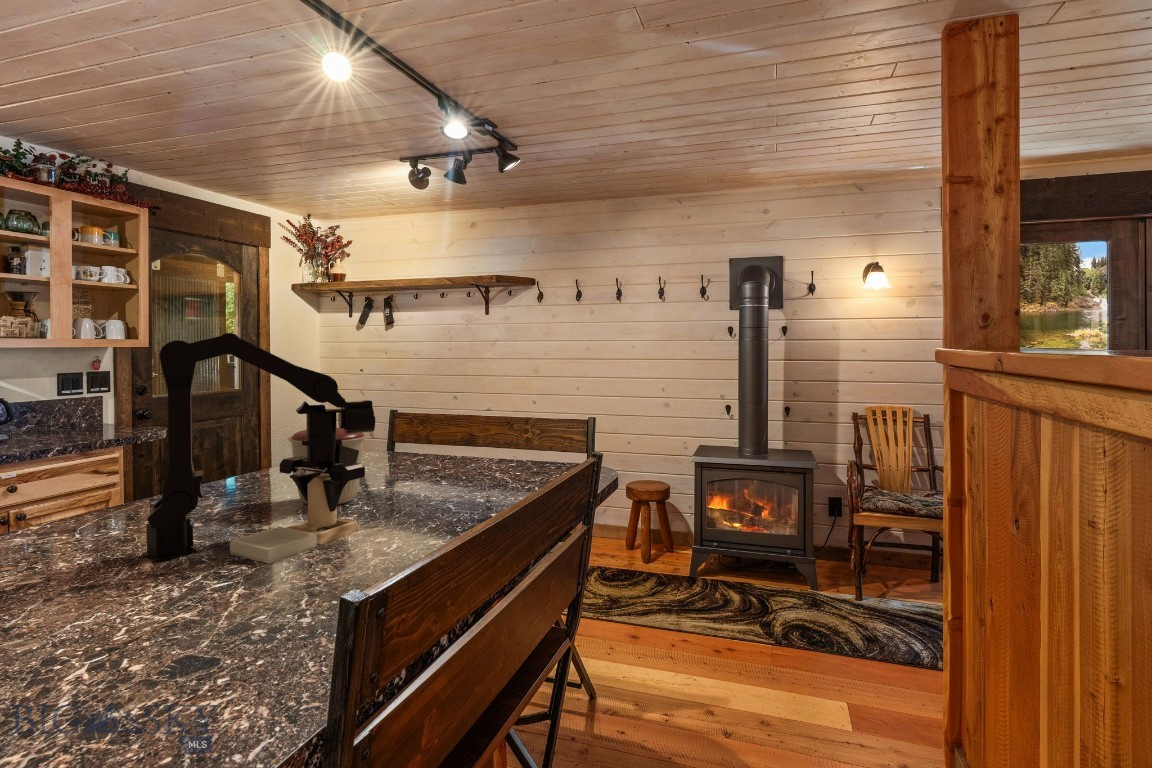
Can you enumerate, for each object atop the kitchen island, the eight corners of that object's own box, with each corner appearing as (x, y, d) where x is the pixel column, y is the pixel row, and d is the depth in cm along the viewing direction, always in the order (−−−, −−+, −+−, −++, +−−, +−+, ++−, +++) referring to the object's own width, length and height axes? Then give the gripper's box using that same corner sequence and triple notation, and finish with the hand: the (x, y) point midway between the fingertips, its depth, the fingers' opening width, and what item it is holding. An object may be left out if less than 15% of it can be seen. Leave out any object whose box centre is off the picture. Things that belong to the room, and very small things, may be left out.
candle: (317, 529, 125) (316, 480, 124) (302, 524, 128) (302, 476, 127) (341, 523, 129) (341, 476, 128) (327, 518, 132) (326, 472, 132)
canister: (272, 507, 149) (270, 420, 148) (323, 490, 166) (322, 412, 165) (335, 513, 144) (334, 423, 143) (381, 496, 161) (380, 415, 160)
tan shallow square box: (320, 544, 122) (320, 534, 122) (285, 537, 126) (285, 527, 126) (358, 531, 131) (358, 521, 131) (324, 524, 135) (324, 515, 135)
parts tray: (268, 563, 111) (268, 549, 111) (230, 554, 116) (229, 540, 116) (316, 546, 121) (316, 533, 121) (279, 538, 125) (278, 526, 125)
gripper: (384, 433, 131) (384, 506, 131) (320, 427, 139) (321, 495, 140) (343, 440, 120) (343, 519, 121) (277, 433, 129) (278, 507, 130)
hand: (322, 509), depth 128 cm, fingers closed on candle, 5 cm apart
